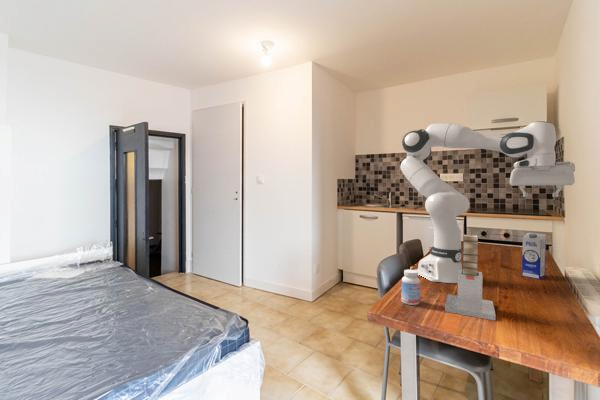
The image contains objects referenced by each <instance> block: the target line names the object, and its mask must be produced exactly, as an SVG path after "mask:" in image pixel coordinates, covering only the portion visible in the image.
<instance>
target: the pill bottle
mask: <svg viewBox="0 0 600 400" xmlns="http://www.w3.org/2000/svg"><path fill="white" fill-rule="evenodd" d="M403 275H404V276H403V277H401V278H402V279H401V296H400V297H401V302H402V303H404V304H405V305H407V306H408V305H409V306H418V305H419V304H420V302H421V301H420V300H421V297H420V296H421V295H420V293H421V292H420V291H421V289H420V288H421V281H420V278H418V277H419V275H418V272H417V271H415V269H404V270H403Z"/></svg>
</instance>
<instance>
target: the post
mask: <svg viewBox="0 0 600 400" xmlns="http://www.w3.org/2000/svg"><path fill="white" fill-rule="evenodd" d="M478 239H479V238H478V235H475V234H474V235H473V234H463V251H462V259H463V260H462V263H463V264H462V265H463V266H462V270H463V274H466V275H474V276H477V272H478V257H479V256H478V255H479V254H478V249H479V248H478V247H479V246H478V245H479V244H478V243H479V240H478Z"/></svg>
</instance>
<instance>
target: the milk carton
mask: <svg viewBox="0 0 600 400" xmlns="http://www.w3.org/2000/svg"><path fill="white" fill-rule="evenodd" d="M546 248H547V234H545V233H536V232H534V233H533V232H527V233H526V234H524V236H522V254H521V258H522V260H521V277H525V278H526V277H527V278H532V279H536V280H541V279H544V278H546Z"/></svg>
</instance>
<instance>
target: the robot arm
mask: <svg viewBox="0 0 600 400" xmlns="http://www.w3.org/2000/svg"><path fill="white" fill-rule="evenodd" d="M556 134H557V133H556V127H555V125H554V124H553V123H552V122H549V121H542V120H541V121H540V120H539V121H532V122H530V123H529V124H527V125H526V126H525V127H522V128H521V129H518V130H515V131H513V132H510V133H507V134H505V135H504V136H502V137H500V136H492V135H487V134H486V135H485V134H482V133H480V132H477V131H475V130H473V129H471V128H470V127H469V126H468V127H467V126H465V125H462V124H457V123H447V122H444V123H443V122H442V123H441V122H439V123H438V122H437V123H431V124H429V125H428V126H427V127H426V129H418V130H410V131H408V132H407V133H405V134H404V135H403V137H402V140H401V143H402V148H403V150H404V151H405V153H406V157H405V158H404V159H403V160H402V161H401V163H400V170H401V172H402V174H403V175H404V177H405V178H406V179H407V181H408V182H409V184H411V185H412V186H413V188H414V189H415V190H416V191H417V192H418V193H419V194H420V195H421V196H424V197H425V198H426V199H425V203H424V208H425V210H426V212H427V214H429V216H430V220H431V223H432V229H433V246H431V247H429V248H428V251H430V252H429V253H430V254H428V255H426V256H425V257H423V258H422V259H419V261H418V265H417V266H418V267H417V268H416V269H414V270H415V271H417V272H418V276H419V275H420V276H419V277H421V276H422V278H423V277H424V278H423V279H425V278H426V280H428V281H430V282H436V283H437V282H438V283H445V284H446V283H447V284H458V270H463V266H462V265H463V264H462V259H463V249H462V230H461V228H460V227H459V224H458V221H457V217H458V216H461V215H464V214H465V213H467V211H468V209H469V207H470V201H469V198H468V197H467V196H466V195H464V194H463V193H461V192H459V191H458V190H457V189H455V188H454V187H453V186H452V185H450V184H449V183H447V182H446V181H444V180H443V179H441V178H440V177H439V176H438V174H436V173H435V172H434V171H433V170H432V169H431V168H430V167H429V166H428V165H427V164H426V162H428V160H429V159H430V158H431V155H432V148H434V147H443V148H448V149H480V150H488V151H494V152H498V153H501V154H503V155H505V156H507V157H508V158H511V159H517V160H518V159H521V160H519V161H516V162H515V163H513V169H512V170H511V173H510V176H509V185H511V186H512V187H513V186H517V187H518V186H519V189H520V191H521V192H522V194H523V195H522V197H523V198H528V197H529V192H526V191H525V188H526V186H527V187H528V186H531V187H533V186H555V188H556V191H554V192H552V198H559V193H560V191H562V189H563V186H573V184H575V181H576V180H575V174H574V173H575V171H576V164H575V163H574V162H571V161H556V150H555V147H556V144H557V135H556ZM524 157H527V158H526V159H522V158H524Z"/></svg>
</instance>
